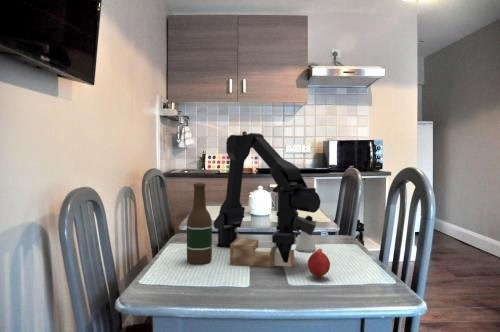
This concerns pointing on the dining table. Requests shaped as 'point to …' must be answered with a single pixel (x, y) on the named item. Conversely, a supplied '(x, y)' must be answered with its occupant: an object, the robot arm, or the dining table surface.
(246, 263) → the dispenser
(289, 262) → the pink-topped cream pillar
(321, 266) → the onion
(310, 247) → the flask
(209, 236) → the beer bottle
